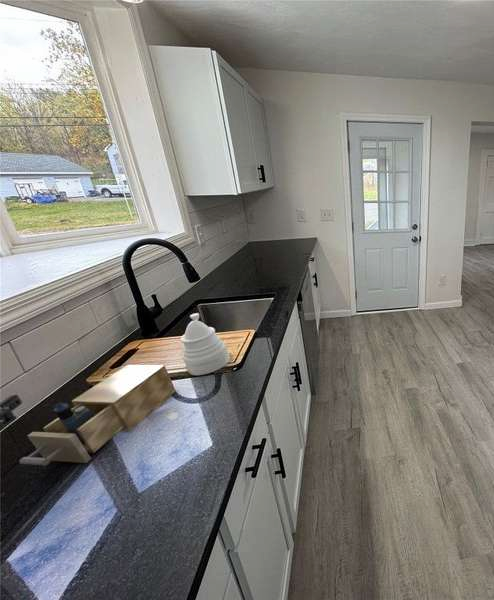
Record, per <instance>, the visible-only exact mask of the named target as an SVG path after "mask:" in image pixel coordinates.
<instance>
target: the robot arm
mask: <svg viewBox="0 0 494 600" xmlns="http://www.w3.org/2000/svg"><path fill="white" fill-rule="evenodd" d="M22 403H23V401H22V399H21V398H20V396H19V395H18V394H12V395H9V396H7V397H6V398H4V399H3V400H2V401H1V402H0V432H1V431H3V430H4V429H6V428H7V427H8V426H9V425H10V424H12V423H13V422H14V421H16V420H17V416H16V415H15V414H14V412H13V411H14V410H16V409H17V408H18V407H19V406H21V405H22Z"/></svg>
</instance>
